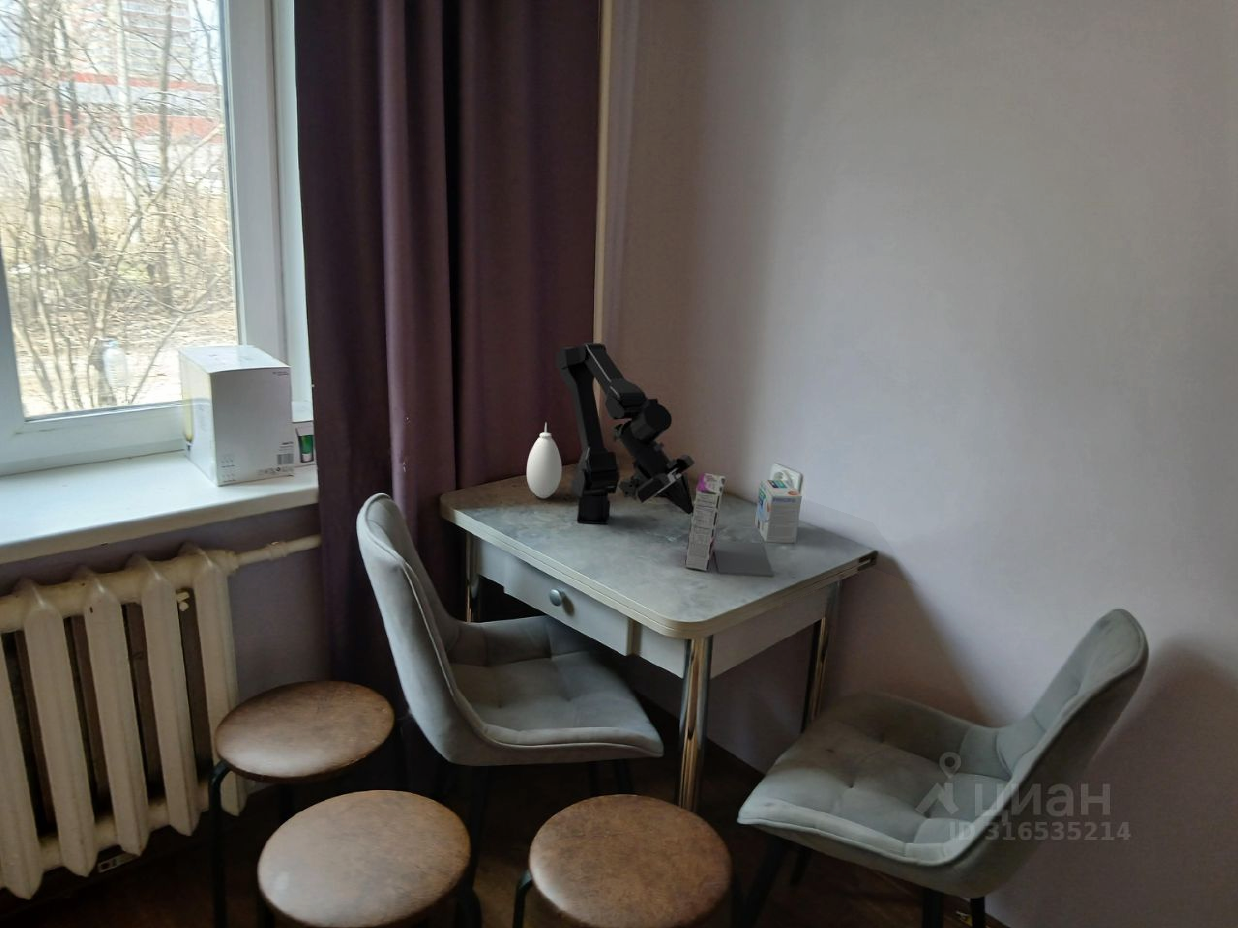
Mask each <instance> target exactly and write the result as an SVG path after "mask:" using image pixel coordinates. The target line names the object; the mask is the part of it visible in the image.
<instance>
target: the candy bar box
mask: <svg viewBox="0 0 1238 928" xmlns="http://www.w3.org/2000/svg"><path fill="white" fill-rule="evenodd" d="M725 480H726V476H725V475H724V476H723V475H718V474H715V473H714V474H713V473H709V472H701V474H700V478H699V481H698V483H697V486H696V489H695V492H694V501H693V512H692V513H691V520H690V526H689V527H690V528H689V534H688V540H687V546H686V553H685V559H684V568H687V569H691V570H696V571H702V572H708V571H709V568H710V564H711V560H712V556H713V554H714V551H713V550H714V542H715V540H716V534H717V528H718V523H719V518H720V511H721V510H720V509H721V505H722V498H723V492H724V487H725Z"/></svg>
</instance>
